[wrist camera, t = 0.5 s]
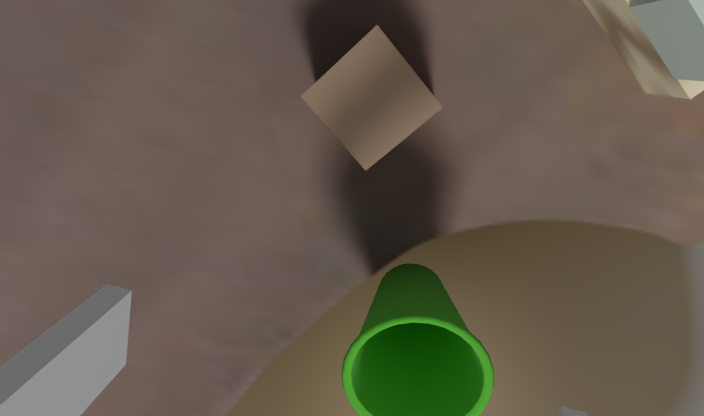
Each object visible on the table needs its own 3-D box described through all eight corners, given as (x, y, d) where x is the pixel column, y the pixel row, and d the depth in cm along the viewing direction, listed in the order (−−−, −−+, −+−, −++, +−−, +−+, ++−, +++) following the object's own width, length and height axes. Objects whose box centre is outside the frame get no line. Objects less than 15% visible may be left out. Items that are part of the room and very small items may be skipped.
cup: (464, 236, 34) (494, 313, 24) (466, 334, 37) (494, 441, 27) (351, 242, 35) (333, 318, 25) (361, 337, 38) (349, 441, 28)
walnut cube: (317, 89, 32) (300, 96, 26) (380, 30, 30) (377, 24, 25) (370, 151, 33) (365, 170, 27) (434, 98, 31) (442, 107, 26)
